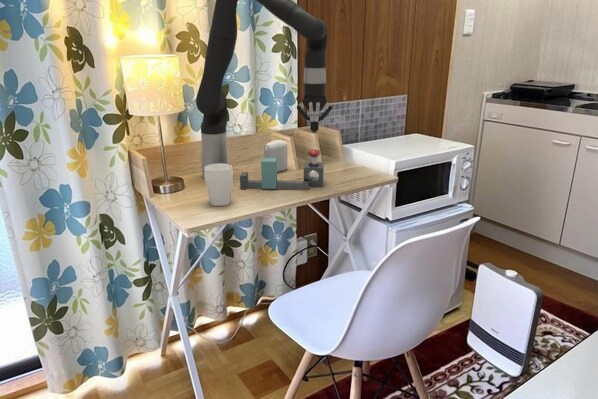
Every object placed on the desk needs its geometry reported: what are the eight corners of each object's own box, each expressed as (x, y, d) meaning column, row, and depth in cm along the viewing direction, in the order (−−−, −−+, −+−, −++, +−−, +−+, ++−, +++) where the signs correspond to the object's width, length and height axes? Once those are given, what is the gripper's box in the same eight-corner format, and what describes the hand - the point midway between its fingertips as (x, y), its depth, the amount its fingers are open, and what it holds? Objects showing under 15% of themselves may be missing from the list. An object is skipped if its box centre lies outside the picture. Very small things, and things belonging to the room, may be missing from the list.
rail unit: (240, 189, 162) (239, 170, 160) (246, 178, 175) (246, 160, 172) (322, 191, 161) (323, 172, 158) (323, 180, 173) (323, 162, 170)
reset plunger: (307, 171, 166) (307, 152, 163) (308, 168, 170) (308, 149, 167) (319, 172, 165) (320, 152, 163) (320, 168, 169) (320, 149, 167)
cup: (209, 209, 144) (207, 172, 140) (203, 200, 152) (201, 165, 148) (237, 205, 148) (236, 169, 144) (230, 196, 156) (228, 162, 151)
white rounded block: (282, 167, 189) (281, 137, 184) (289, 169, 186) (289, 139, 181) (262, 172, 182) (261, 141, 178) (269, 174, 179) (269, 143, 175)
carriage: (261, 188, 162) (261, 161, 159) (263, 184, 166) (262, 158, 163) (275, 189, 162) (275, 161, 158) (277, 185, 166) (276, 158, 162)
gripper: (334, 80, 160) (333, 130, 166) (296, 80, 160) (296, 129, 166) (334, 82, 153) (333, 134, 158) (294, 82, 153) (294, 134, 159)
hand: (314, 131), depth 162 cm, fingers closed
